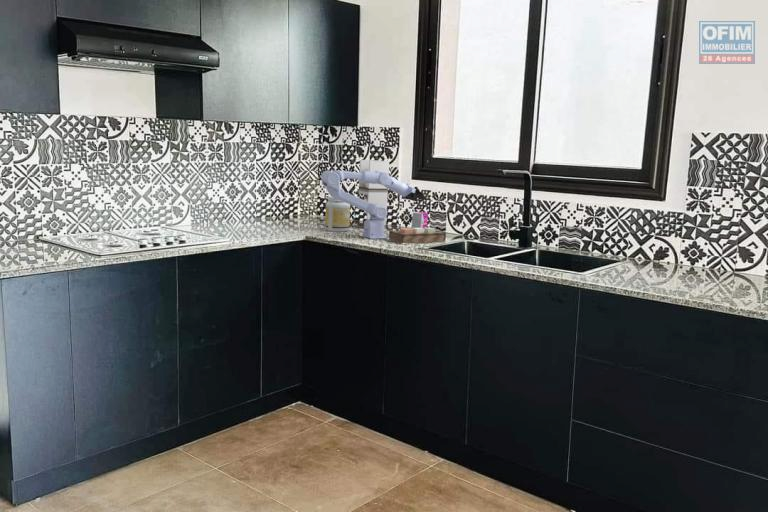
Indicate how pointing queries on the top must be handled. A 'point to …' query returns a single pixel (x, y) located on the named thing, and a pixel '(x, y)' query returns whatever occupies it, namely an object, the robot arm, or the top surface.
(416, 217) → the supplement box
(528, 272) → the top surface
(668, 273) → the top surface
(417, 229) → the cream key
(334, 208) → the supplement tub
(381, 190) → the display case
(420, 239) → the frame
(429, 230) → the sage key
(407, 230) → the terracotta key
